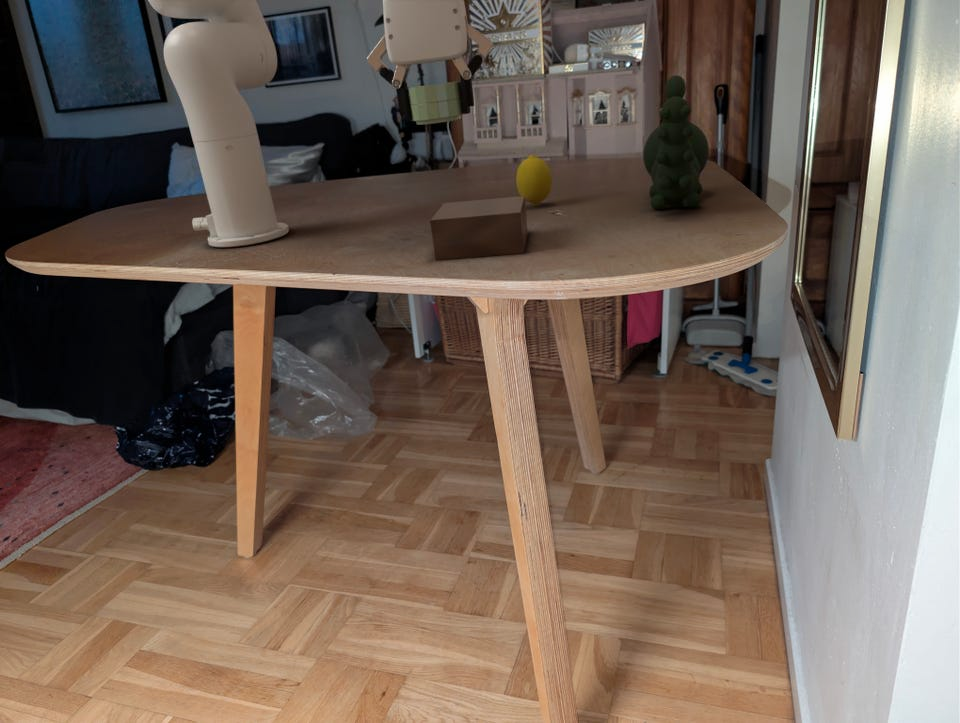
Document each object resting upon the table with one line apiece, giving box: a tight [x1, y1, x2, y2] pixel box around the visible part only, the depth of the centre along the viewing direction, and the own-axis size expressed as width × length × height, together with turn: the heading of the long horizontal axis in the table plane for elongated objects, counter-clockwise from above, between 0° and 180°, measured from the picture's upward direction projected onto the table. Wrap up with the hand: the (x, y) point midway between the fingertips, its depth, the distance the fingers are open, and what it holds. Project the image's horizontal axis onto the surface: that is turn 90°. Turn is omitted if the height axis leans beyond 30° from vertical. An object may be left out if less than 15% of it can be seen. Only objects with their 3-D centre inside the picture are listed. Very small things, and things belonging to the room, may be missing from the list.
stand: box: [429, 196, 528, 261], centre depth 90 cm, size 11×11×5 cm
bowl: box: [407, 80, 465, 126], centre depth 90 cm, size 7×7×4 cm
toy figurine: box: [643, 74, 710, 210], centre depth 100 cm, size 9×19×25 cm
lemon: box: [515, 154, 552, 207], centre depth 111 cm, size 6×6×8 cm
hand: (438, 115), depth 91 cm, fingers closed on bowl, 6 cm apart
